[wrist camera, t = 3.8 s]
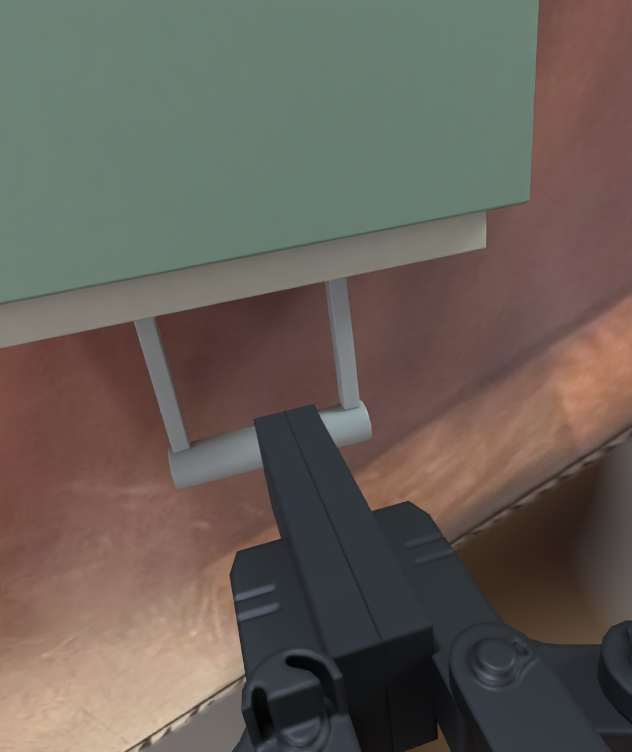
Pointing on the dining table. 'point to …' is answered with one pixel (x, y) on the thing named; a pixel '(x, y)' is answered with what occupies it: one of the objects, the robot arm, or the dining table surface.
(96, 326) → the drawer
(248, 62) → the cabinet
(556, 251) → the dining table surface
